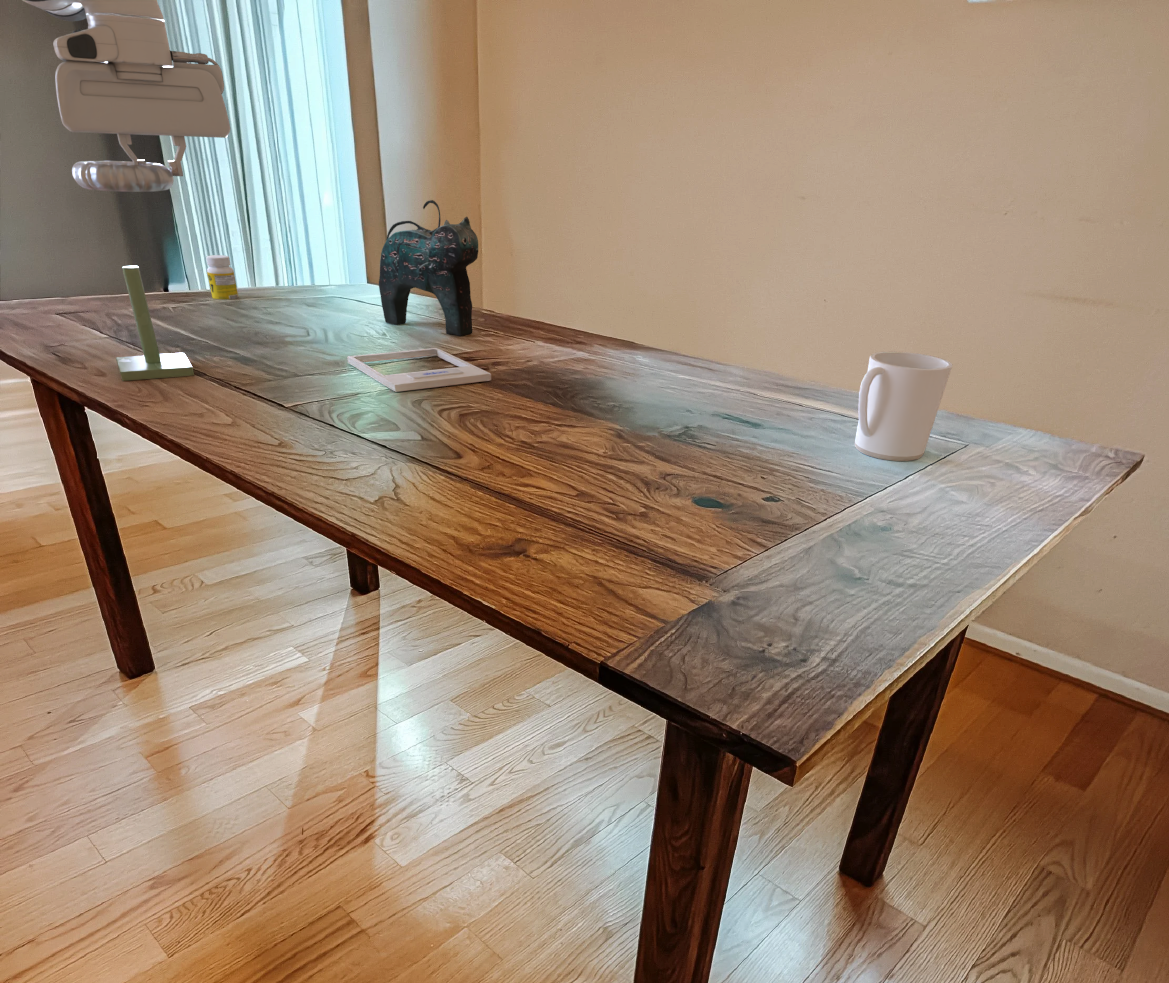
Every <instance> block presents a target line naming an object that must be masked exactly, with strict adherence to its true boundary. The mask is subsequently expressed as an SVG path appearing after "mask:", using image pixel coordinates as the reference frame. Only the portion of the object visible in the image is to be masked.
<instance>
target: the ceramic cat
mask: <svg viewBox="0 0 1169 983" xmlns="http://www.w3.org/2000/svg"><path fill="white" fill-rule="evenodd" d="M429 204H433V205H434V206H435V207H436V209H437V213H438V224H437V227H436V228H434V229H433V230H431V229H429V228H425V227H423V226H421V225H420V224H418V223H417V222H414V221H412V220H401V221H398V222H396V223H393V224H392V226H390V228H389V230H388V232H387V235H386V240H385V243H384V244H383V246H382V249H381V253H380V260H379V278H378V291H379V295H380V304H381V308H382V312H383V317H384V321H385V323H386V324H390V325H395V326H396V325H397V326H399V325H404V324H406V323H407V313H408V312H407V310H408V305H409V304H408V303H409V296H410V293H411V290H412V289H417V290H421V291H424V292H428V293H431V294H433V295H434V296H435V297H436V299H437V301H438V304H439V305H440V307H441V310H442V312H443V315H444V320H445V321H444V322H445V334H446V335H455V336H459V337H463V336H467V335H471V334H473V318H472V317H473V316H472V315H473V301H472V298H471V296H472V295H471V282H470V278H469V274H468V270H467V267H468V266H470V265H472V264H473V263H474V262H475V261H476V260H478V256H479V239H478V235H477V233H475V231H474V230H473V229H472V226H471V221H470V219H469V217H468V216H465V217H464V218H463V219H462V220H461V221H460V222H459V223H456V224H454V223H450V222H449V220H448V219H445V221H444V223H443V225H441V210H440V207H439V206H440V205H439V204H438V203H437V202H436V201H435V200H433V199H429V200H426V202H425V203H424V204H423V206H422V209H423V210H425V209H426V207H427V206H428V205H429ZM406 224H410V225H413V226H415V227H416V229H406V230H400V231H399V230H398V231H395V232H394V233H392V232H393V231H394V230H395V228H396V227H398V226H401V225H402V226H403V225H406ZM391 233H392V234H391Z"/></svg>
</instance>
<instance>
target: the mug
mask: <svg viewBox="0 0 1169 983" xmlns="http://www.w3.org/2000/svg"><path fill="white" fill-rule="evenodd" d="M952 368H953V363H952V362H951V361H950V360H947V359H946V358H942V357H939V356H935V355H930V354H925V353H919V352H911V351H895V350H893V351H891V350H890V351H889V350H888V351H877V352H873V353H871V354H870V356H869V360H868V365H867V369H866V373H865V374H864V376H863V378H862V380H861V382H860V387H859V392H858V405H857V407H858V408H857V409H858V410H857V411H858V422H857V423H858V424H857V427H856V434H855V439H854V446H855V449H856V450H857V451H858V452H860V453H861V454H863V455H866V456H868V457H872V458H875V459H879V460H885V461H894V462H909V461H916V460H919V459H920V458H922V457H923V456H924V455H925V451H926V448H927V445H928V443H929V439H930V436H931V433H932V430H933V426H934V423H935V420H936V417H937V415H938V411H939V408H940V405H941V401H942V399H943V396H944V392H945V390H946V386H947V383H948V381H949V378H950V374H951V371H952Z"/></svg>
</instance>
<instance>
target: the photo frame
mask: <svg viewBox="0 0 1169 983" xmlns="http://www.w3.org/2000/svg"><path fill="white" fill-rule="evenodd" d="M431 356H436V357H438V358H440V359H442V360H444V361H446V362H448V363H450V364H452V365H454V366H456V367H448V368H447V367H446V368H439V369H437V368H436V369H429V370H420V371H411V372H402V373H393V374H383V373H381V372H379V371H378V370H376V369H374V368H372V367H371V366H369V365H367V364H366V363H371V362H383V361H392V360H393V361H394V360H401V359H412V358H422V357H431ZM346 358H347V359H346V360H347V364H349V365H351V366H353V367H354V368H355V369H357V370H359V371H360V372H362V373H364V375H367V376H368V377H371V378H372V379H374V380H375V381H376V382H379V383H380V384H382V385H383V386H385V387H387V388H388V389H390V390H391V391H393V392H394V393H398V392H406V391H414V390H422V389H430V388H439V387H446V386H447V387H448V386H456V385H465V384H471V383H472V384H473V383H479V382H490V381H492V373H490V372H488V371H486V370H484V369H482V368H480V367H479V366H476V365H474V364H472V363H470V362H468V361H466V360H463V359H461V358H459V357H457V356H455V355H453V354H450V353H448V352H446V351H445V350H443V349H441V348H438V347H430V348H419V349H410V350H409V349H408V350H400V351H399V350H398V351H389V352H388V351H387V352H378V353H368V354H358V355H348V356H347V357H346Z"/></svg>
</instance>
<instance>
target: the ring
mask: <svg viewBox="0 0 1169 983" xmlns="http://www.w3.org/2000/svg"><path fill="white" fill-rule="evenodd" d="M145 162H146V165H133V161H126V160H124V161H123V160H122V161H121V160H84V161H83V160H82V161H81V160H80V161H77V162H75V163H74V164H73V165H72V167H71V175H72V178H73V179H74V181H75V183H76V184H77V185H78V186H80V187H81V188H83V189H85V190H91V191H100V192H122V193H123V192H126V193H127V192H128V193H129V192H131V193H135V192H136V193H137V192H138V193H142V192H143V193H144V192H146V193H147V192H162V191H168V190H170V189H171V188H172V186H173V185H174V176H173V175H172V173H171V171H170V168H169V167H167V166H165V165H164V164H161V163H157V162H147V161H145Z"/></svg>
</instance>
